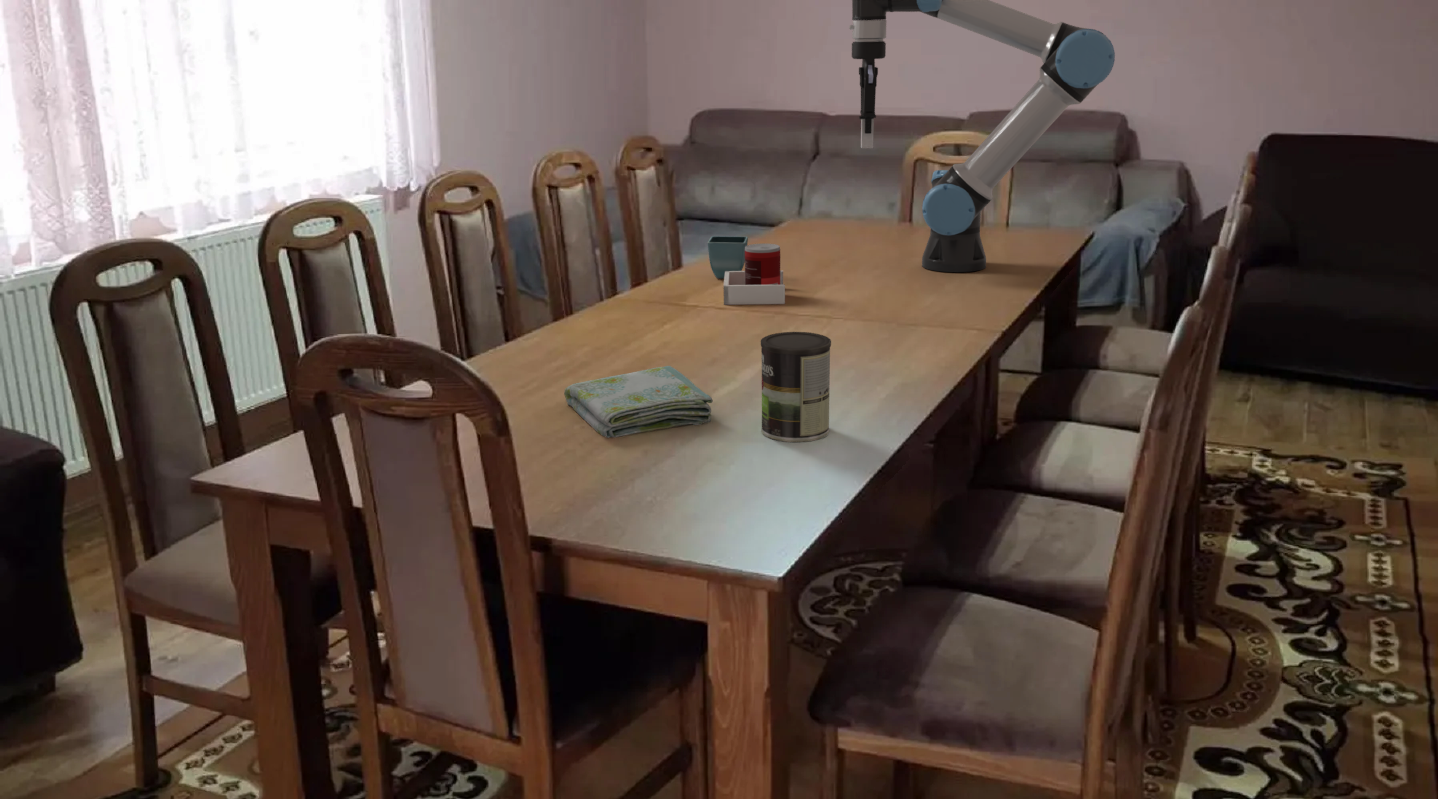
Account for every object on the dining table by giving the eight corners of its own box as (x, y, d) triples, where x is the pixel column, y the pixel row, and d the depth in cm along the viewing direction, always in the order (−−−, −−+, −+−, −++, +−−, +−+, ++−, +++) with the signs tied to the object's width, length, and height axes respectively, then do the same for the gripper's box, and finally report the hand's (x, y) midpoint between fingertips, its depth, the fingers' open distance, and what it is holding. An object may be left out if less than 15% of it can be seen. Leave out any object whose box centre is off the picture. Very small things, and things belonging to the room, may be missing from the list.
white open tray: (783, 288, 287) (783, 270, 286) (784, 303, 272) (784, 285, 270) (725, 288, 287) (724, 271, 286) (723, 304, 272) (723, 286, 271)
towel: (605, 443, 188) (603, 410, 186) (563, 405, 207) (562, 374, 205) (718, 426, 195) (718, 394, 193) (668, 390, 213) (667, 361, 212)
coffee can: (765, 444, 185) (764, 350, 181) (757, 422, 195) (756, 332, 191) (835, 441, 186) (836, 347, 182) (824, 419, 196) (824, 330, 192)
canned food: (783, 293, 282) (783, 243, 279) (776, 301, 275) (776, 250, 271) (749, 292, 284) (748, 242, 280) (742, 299, 276) (741, 249, 273)
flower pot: (748, 273, 304) (748, 235, 301) (745, 281, 295) (745, 242, 292) (711, 273, 304) (711, 235, 302) (707, 280, 296) (707, 242, 293)
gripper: (849, 39, 290) (848, 145, 297) (854, 41, 278) (853, 151, 285) (882, 39, 290) (880, 144, 297) (888, 40, 278) (886, 150, 285)
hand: (867, 147), depth 291 cm, fingers closed
